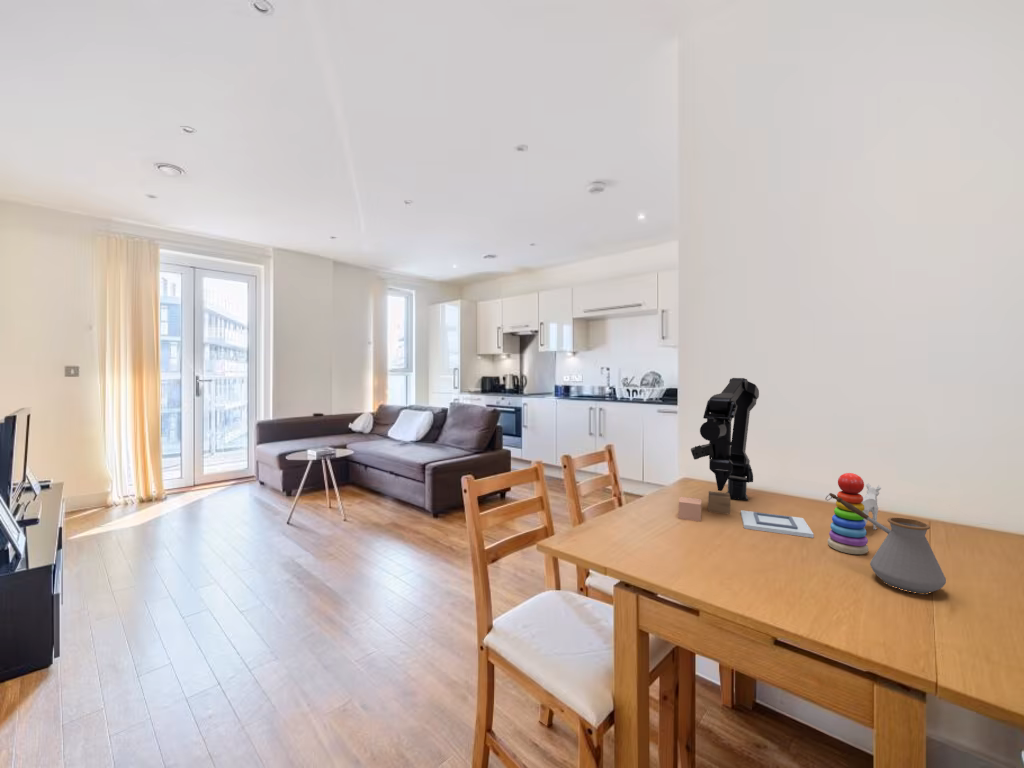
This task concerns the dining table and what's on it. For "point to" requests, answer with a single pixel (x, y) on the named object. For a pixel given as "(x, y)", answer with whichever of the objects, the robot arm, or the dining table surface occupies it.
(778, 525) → the board
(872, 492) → the cat figurine
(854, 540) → the stacking toy
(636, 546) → the dining table surface
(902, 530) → the coffee pot
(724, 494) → the walnut block
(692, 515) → the terracotta block
